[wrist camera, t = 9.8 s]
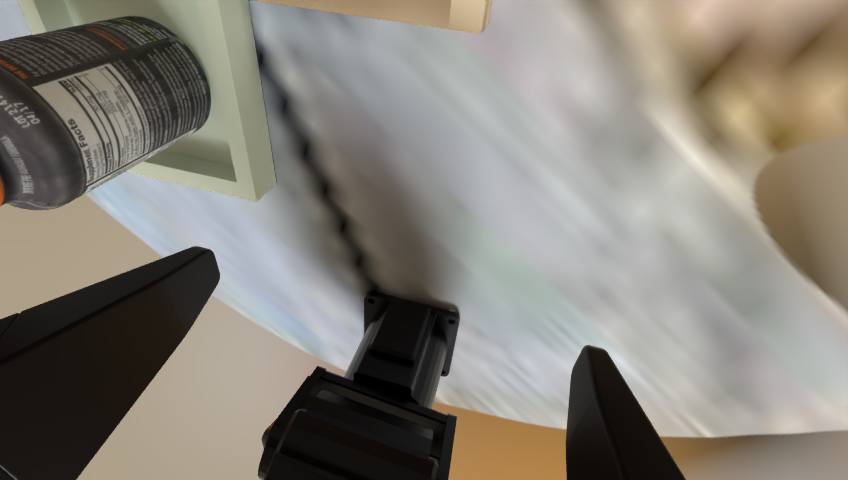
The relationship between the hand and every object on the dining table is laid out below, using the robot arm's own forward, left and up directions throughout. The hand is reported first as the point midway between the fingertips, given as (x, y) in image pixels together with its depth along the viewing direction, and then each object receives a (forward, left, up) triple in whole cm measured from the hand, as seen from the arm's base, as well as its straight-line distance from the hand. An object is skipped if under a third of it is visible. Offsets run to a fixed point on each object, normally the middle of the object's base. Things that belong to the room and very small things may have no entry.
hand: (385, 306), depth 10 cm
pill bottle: (0, +16, -12) cm, 20 cm away
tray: (0, +17, -12) cm, 21 cm away
